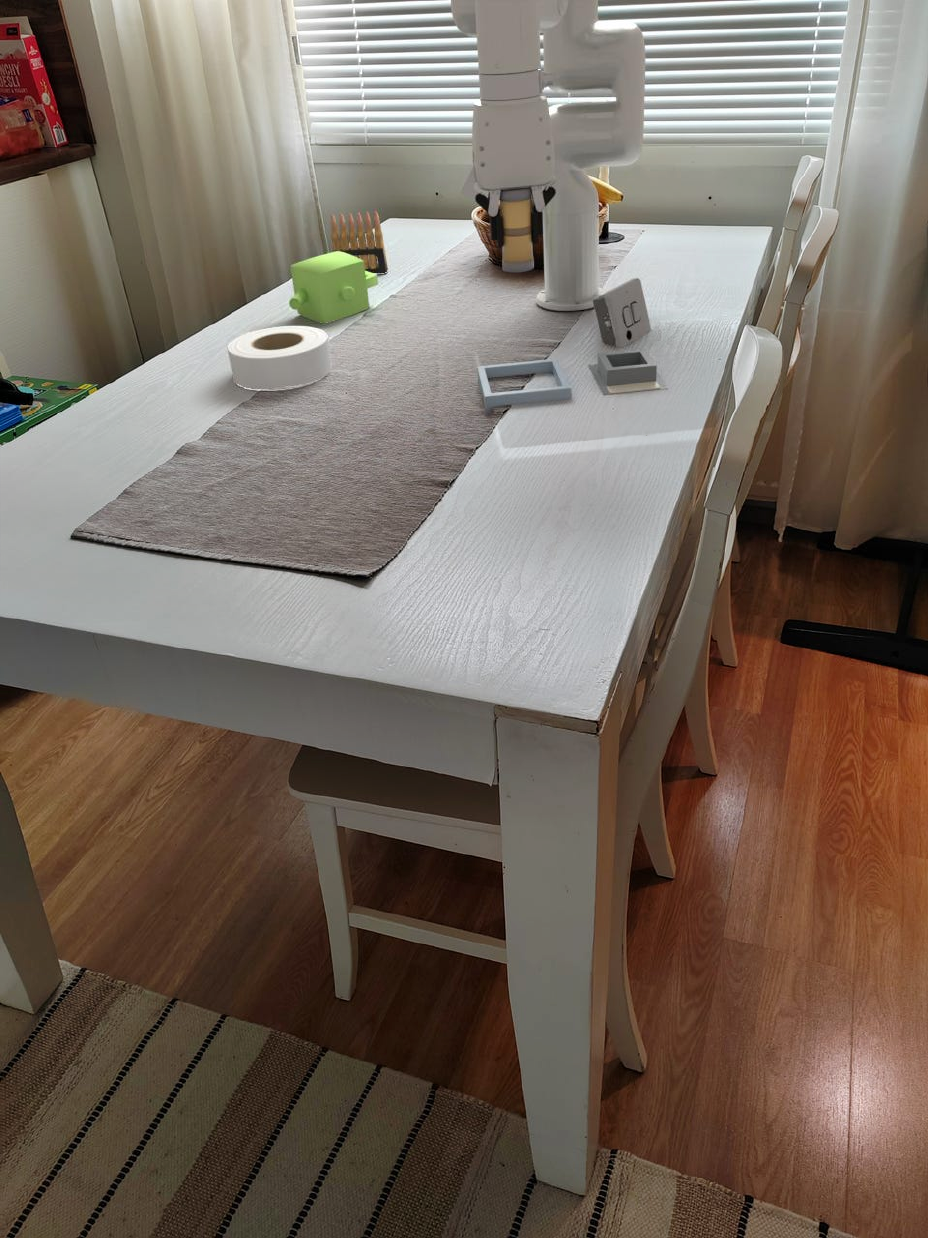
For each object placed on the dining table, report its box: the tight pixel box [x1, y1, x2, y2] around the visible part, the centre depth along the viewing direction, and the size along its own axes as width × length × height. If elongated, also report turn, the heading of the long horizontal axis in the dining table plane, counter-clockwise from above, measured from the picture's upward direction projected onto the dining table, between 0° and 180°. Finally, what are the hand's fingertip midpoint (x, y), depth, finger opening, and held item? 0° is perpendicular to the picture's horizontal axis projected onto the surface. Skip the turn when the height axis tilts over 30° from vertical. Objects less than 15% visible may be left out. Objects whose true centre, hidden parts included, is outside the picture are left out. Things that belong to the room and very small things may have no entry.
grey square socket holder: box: [587, 348, 668, 396], centre depth 141 cm, size 12×9×4 cm
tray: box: [476, 357, 572, 414], centre depth 141 cm, size 12×12×2 cm
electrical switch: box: [593, 277, 652, 349], centre depth 154 cm, size 9×5×9 cm, turn 141°
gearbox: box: [288, 251, 379, 324], centre depth 178 cm, size 18×10×10 cm, turn 130°
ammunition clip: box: [330, 210, 389, 273], centre depth 199 cm, size 11×2×12 cm, turn 85°
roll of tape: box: [227, 325, 333, 389], centre depth 155 cm, size 16×16×6 cm
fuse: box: [499, 187, 535, 273], centre depth 129 cm, size 4×4×10 cm
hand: (517, 241), depth 130 cm, fingers closed on fuse, 4 cm apart
